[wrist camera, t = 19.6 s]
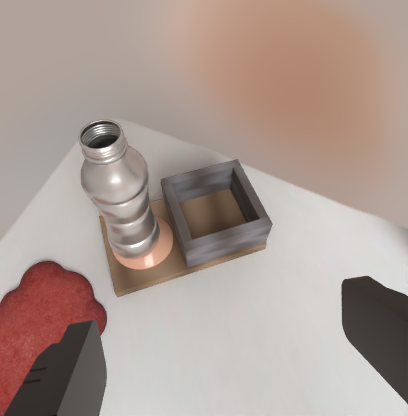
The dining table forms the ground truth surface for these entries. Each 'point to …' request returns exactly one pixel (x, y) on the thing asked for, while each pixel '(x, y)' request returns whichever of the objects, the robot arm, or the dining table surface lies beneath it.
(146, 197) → the plastic bottle
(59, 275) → the red flat piece
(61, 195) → the dining table surface
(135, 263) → the terracotta coaster
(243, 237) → the wooden organizer tray
